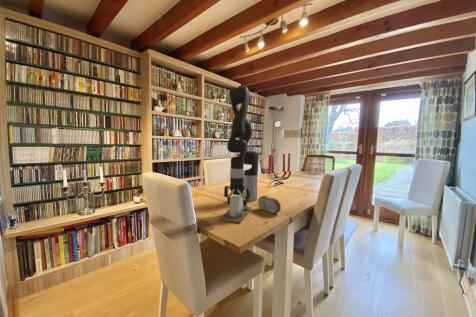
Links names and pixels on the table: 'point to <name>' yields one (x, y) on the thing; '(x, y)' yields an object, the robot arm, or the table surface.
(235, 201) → the cream rectangular box
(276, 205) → the tin
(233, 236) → the table surface
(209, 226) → the table surface
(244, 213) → the hinge panel
